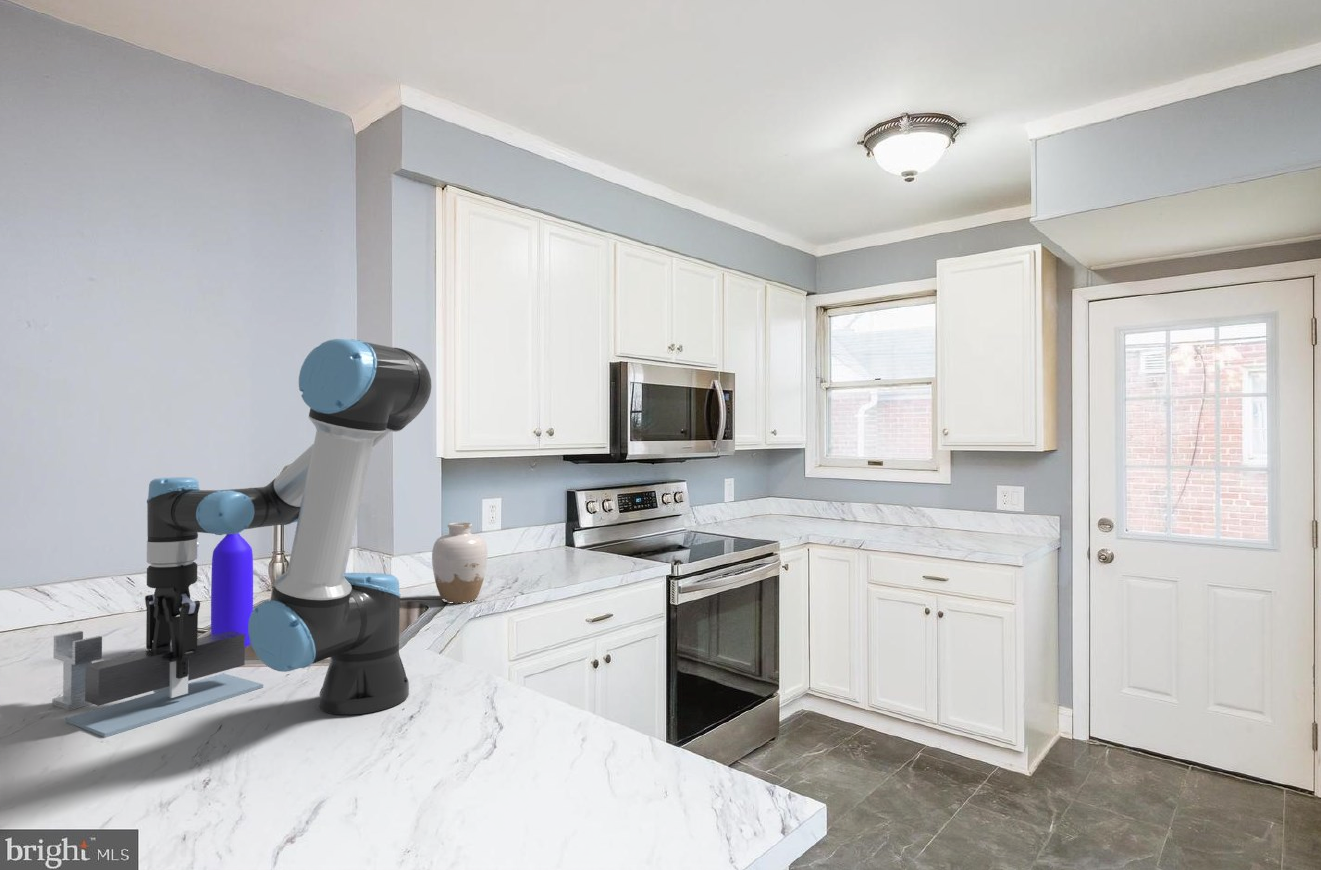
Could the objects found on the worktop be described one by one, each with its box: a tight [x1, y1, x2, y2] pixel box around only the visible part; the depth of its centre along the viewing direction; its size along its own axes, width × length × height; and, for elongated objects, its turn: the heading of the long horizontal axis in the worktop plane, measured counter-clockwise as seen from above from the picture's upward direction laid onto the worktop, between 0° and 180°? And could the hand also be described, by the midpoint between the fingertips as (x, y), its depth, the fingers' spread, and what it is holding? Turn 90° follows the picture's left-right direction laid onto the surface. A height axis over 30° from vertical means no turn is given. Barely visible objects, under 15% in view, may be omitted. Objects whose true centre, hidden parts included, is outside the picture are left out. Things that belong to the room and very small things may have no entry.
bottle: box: [210, 533, 254, 648], centre depth 162 cm, size 8×8×30 cm
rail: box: [85, 631, 246, 707], centre depth 126 cm, size 24×4×6 cm, turn 152°
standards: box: [51, 616, 177, 711], centre depth 133 cm, size 8×21×12 cm, turn 152°
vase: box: [431, 522, 488, 604], centre depth 209 cm, size 16×16×23 cm
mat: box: [65, 673, 264, 738], centre depth 126 cm, size 13×26×1 cm, turn 152°
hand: (170, 692), depth 126 cm, fingers closed on rail, 4 cm apart
